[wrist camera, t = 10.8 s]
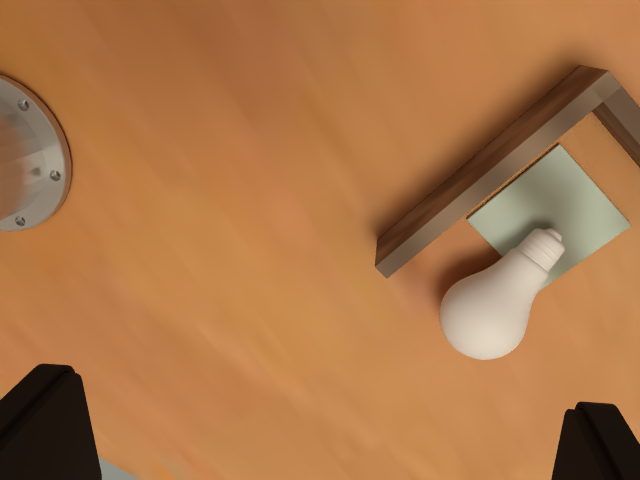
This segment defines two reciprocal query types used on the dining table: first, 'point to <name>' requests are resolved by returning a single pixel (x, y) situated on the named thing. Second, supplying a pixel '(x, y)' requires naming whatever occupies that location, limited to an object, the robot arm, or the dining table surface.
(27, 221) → the robot arm
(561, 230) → the corner fence
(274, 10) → the dining table surface
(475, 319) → the lightbulb
